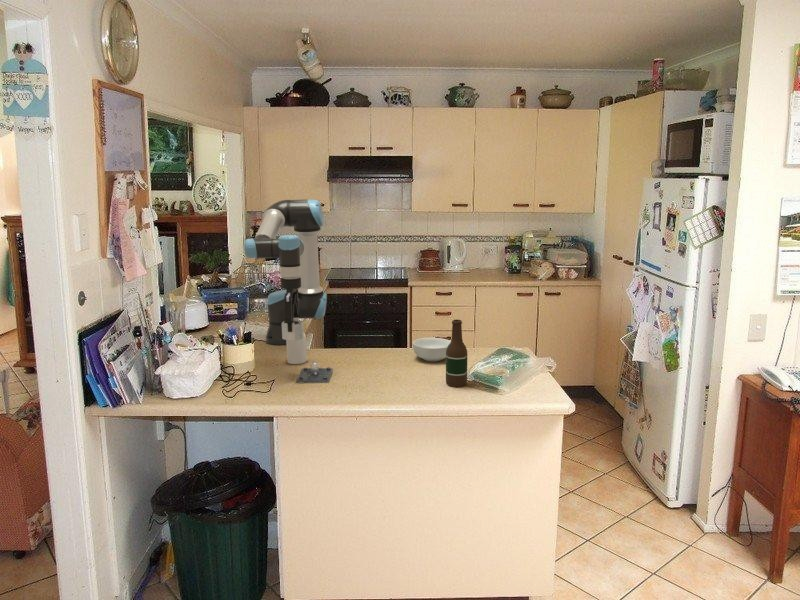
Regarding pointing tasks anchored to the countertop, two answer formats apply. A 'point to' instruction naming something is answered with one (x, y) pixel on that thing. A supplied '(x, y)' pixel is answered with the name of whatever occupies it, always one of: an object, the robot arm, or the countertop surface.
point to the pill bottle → (296, 351)
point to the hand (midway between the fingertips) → (293, 337)
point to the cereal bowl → (431, 348)
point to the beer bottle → (456, 358)
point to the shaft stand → (314, 374)
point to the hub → (297, 329)
